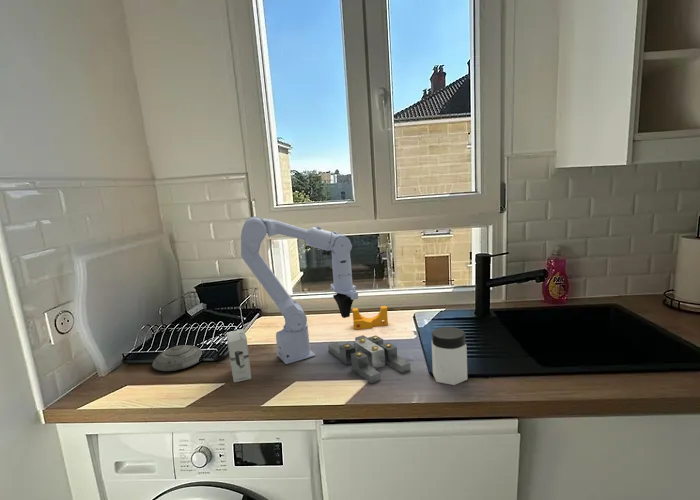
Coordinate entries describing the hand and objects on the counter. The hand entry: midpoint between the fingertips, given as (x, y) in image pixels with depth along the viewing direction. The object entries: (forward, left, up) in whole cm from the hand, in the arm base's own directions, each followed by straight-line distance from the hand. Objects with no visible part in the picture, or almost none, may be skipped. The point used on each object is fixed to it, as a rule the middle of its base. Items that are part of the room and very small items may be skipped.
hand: (345, 316), depth 128 cm
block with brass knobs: (0, -12, -10) cm, 16 cm away
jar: (+12, -33, -10) cm, 37 cm away
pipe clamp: (+15, +11, -10) cm, 21 cm away
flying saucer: (-47, +22, -10) cm, 53 cm away
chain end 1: (0, -5, -10) cm, 11 cm away
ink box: (-33, +2, -10) cm, 35 cm away
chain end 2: (0, -19, -10) cm, 21 cm away
